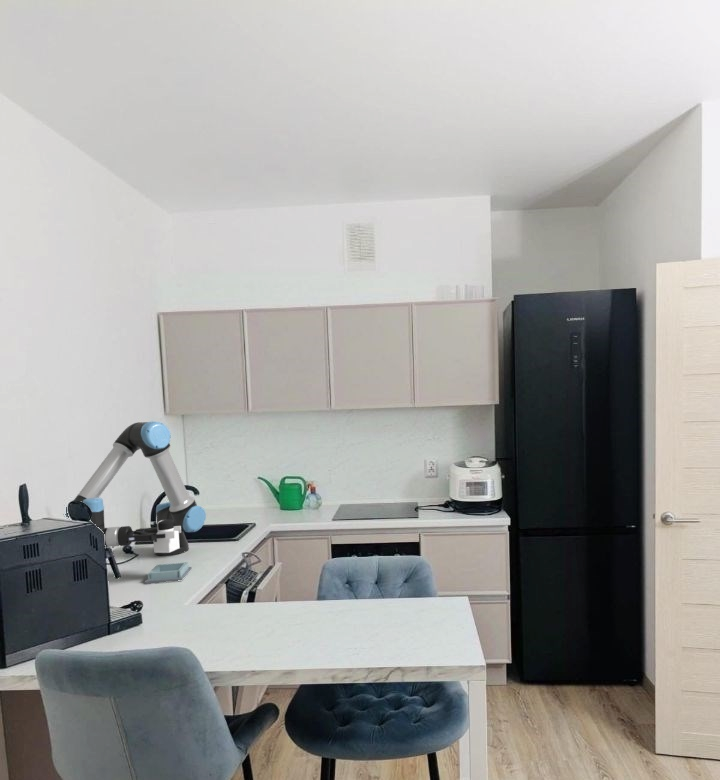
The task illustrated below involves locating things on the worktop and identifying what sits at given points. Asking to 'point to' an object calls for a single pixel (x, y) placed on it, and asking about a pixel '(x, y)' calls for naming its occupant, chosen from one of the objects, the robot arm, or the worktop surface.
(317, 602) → the worktop surface
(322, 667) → the worktop surface
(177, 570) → the shallow blue tray
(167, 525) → the medicine bottle
